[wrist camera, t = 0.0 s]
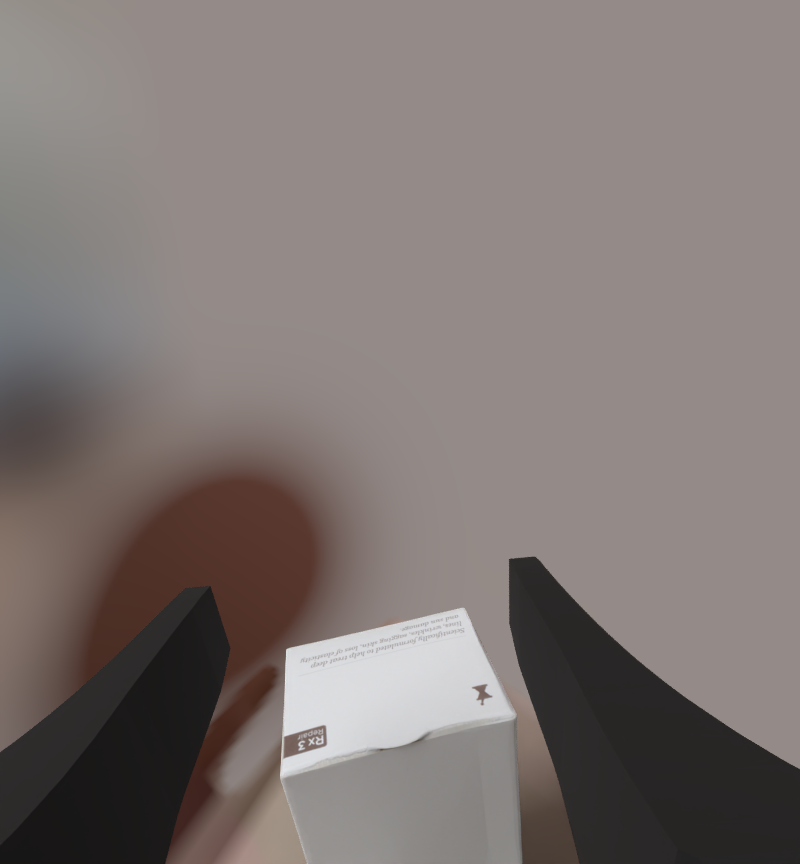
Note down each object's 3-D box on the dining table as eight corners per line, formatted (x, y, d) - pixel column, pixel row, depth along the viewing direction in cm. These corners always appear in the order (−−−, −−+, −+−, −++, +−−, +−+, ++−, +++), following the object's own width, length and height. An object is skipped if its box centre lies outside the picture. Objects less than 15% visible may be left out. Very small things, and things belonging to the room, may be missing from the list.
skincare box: (486, 823, 27) (473, 597, 22) (532, 968, 22) (529, 709, 17) (332, 863, 26) (283, 635, 21) (340, 1028, 21) (276, 769, 16)
